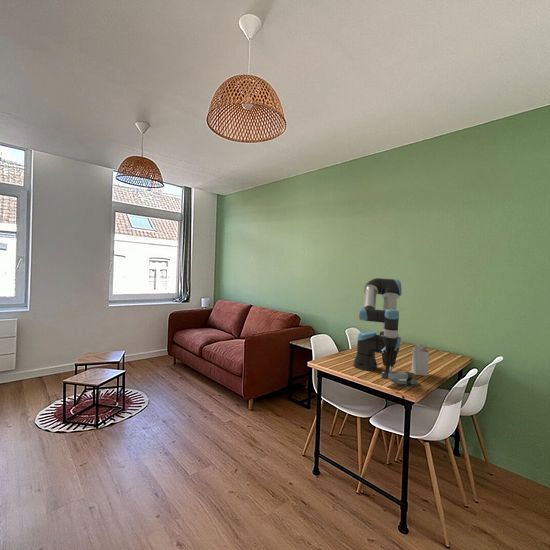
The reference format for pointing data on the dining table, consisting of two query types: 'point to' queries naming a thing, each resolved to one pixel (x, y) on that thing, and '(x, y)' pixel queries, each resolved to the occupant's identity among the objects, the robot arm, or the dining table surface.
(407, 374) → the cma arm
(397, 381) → the plate
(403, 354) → the dining table surface
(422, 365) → the milk carton
